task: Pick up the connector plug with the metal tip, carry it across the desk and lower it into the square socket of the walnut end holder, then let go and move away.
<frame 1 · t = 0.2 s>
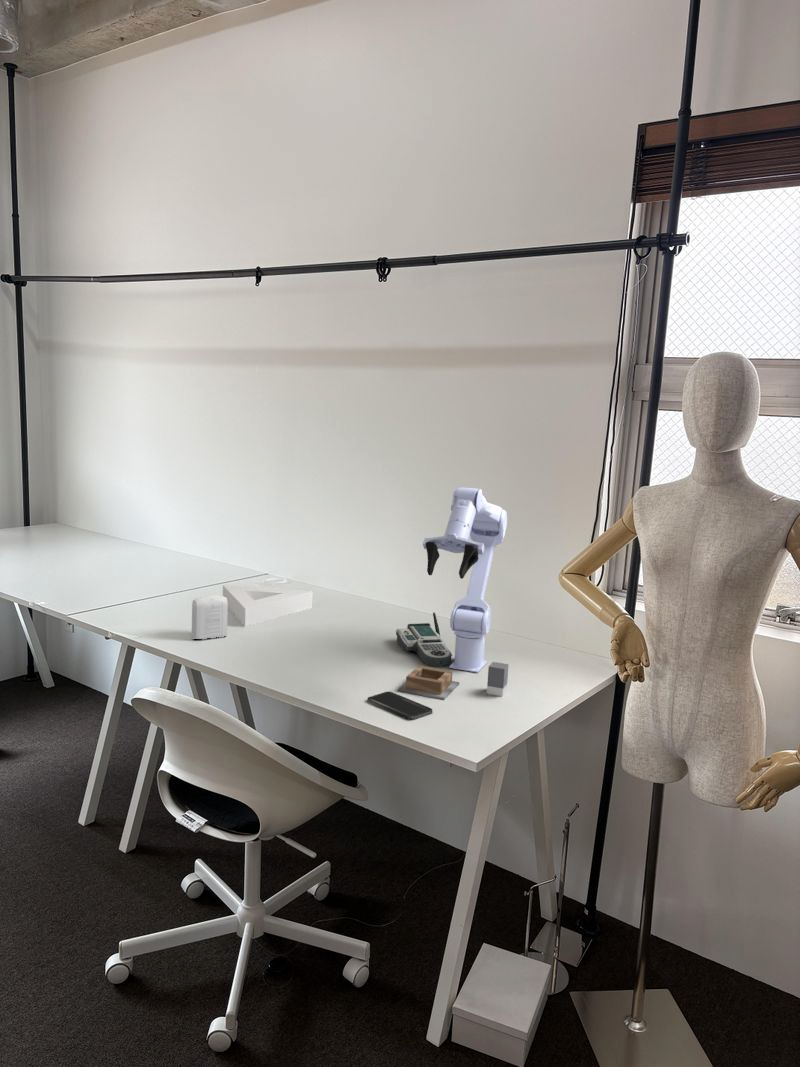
hand: (444, 574, 194), 31 cm above the table, tool tilted 45°, fingers open, 7 cm apart
connector plug: (496, 692, 208), on the table
end holder: (428, 687, 209), on the table
white upright block: (209, 638, 240), on the table
phone: (399, 709, 196), on the table
triangle block: (256, 618, 264), on the table
communication device: (425, 655, 235), on the table
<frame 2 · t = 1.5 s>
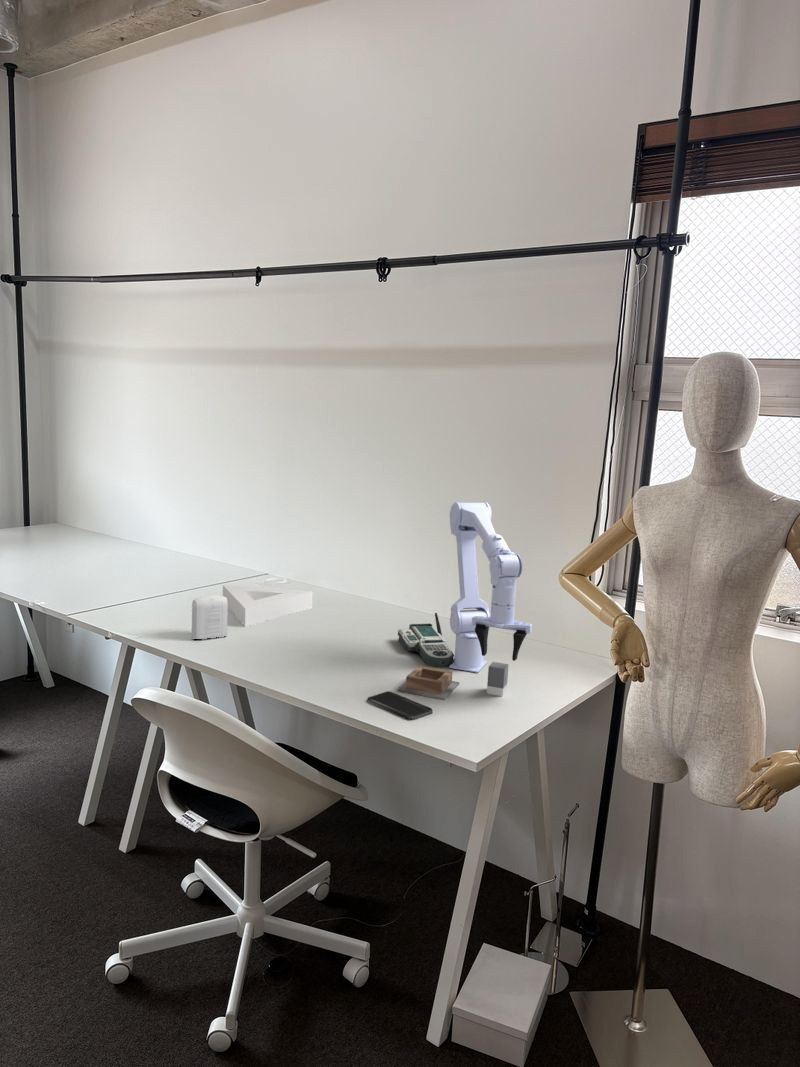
hand: (499, 656, 206), 9 cm above the table, tool pointing down, fingers open, 7 cm apart
nothing on the table moved.
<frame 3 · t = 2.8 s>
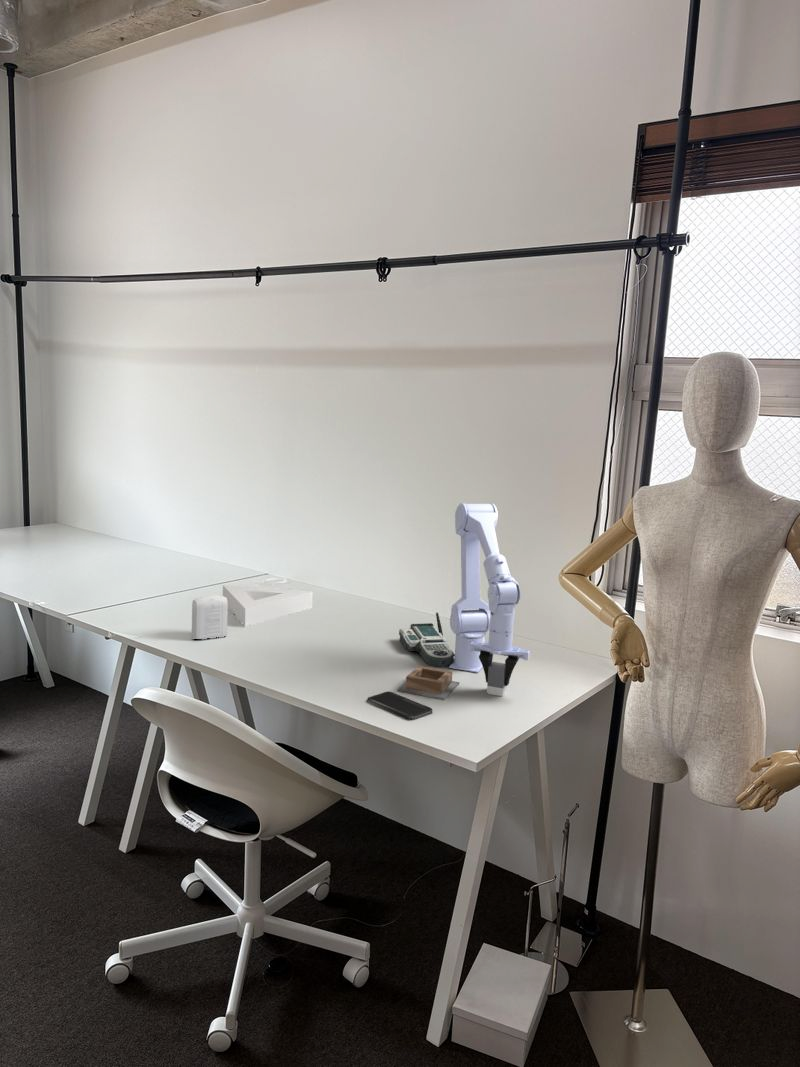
hand: (497, 682, 207), 2 cm above the table, tool pointing down, fingers closed on connector plug, 4 cm apart
connector plug: (496, 692, 208), on the table, touching gripper
everything else where it was.
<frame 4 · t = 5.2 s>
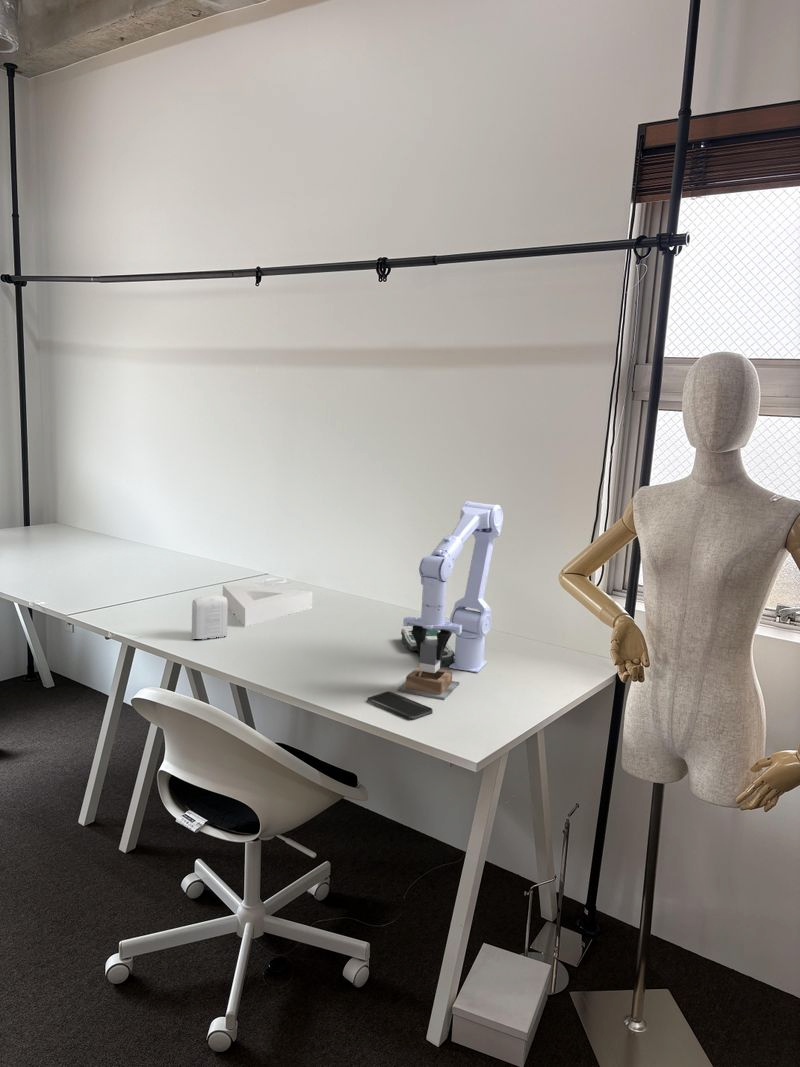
hand: (430, 657, 207), 8 cm above the table, tool pointing down, fingers closed on connector plug, 4 cm apart
connector plug: (429, 669, 208), point 5 cm above the table, touching gripper
when the fingers open (4 cm above the table, at t = 6.1 s): connector plug stays where it is, resting on end holder.
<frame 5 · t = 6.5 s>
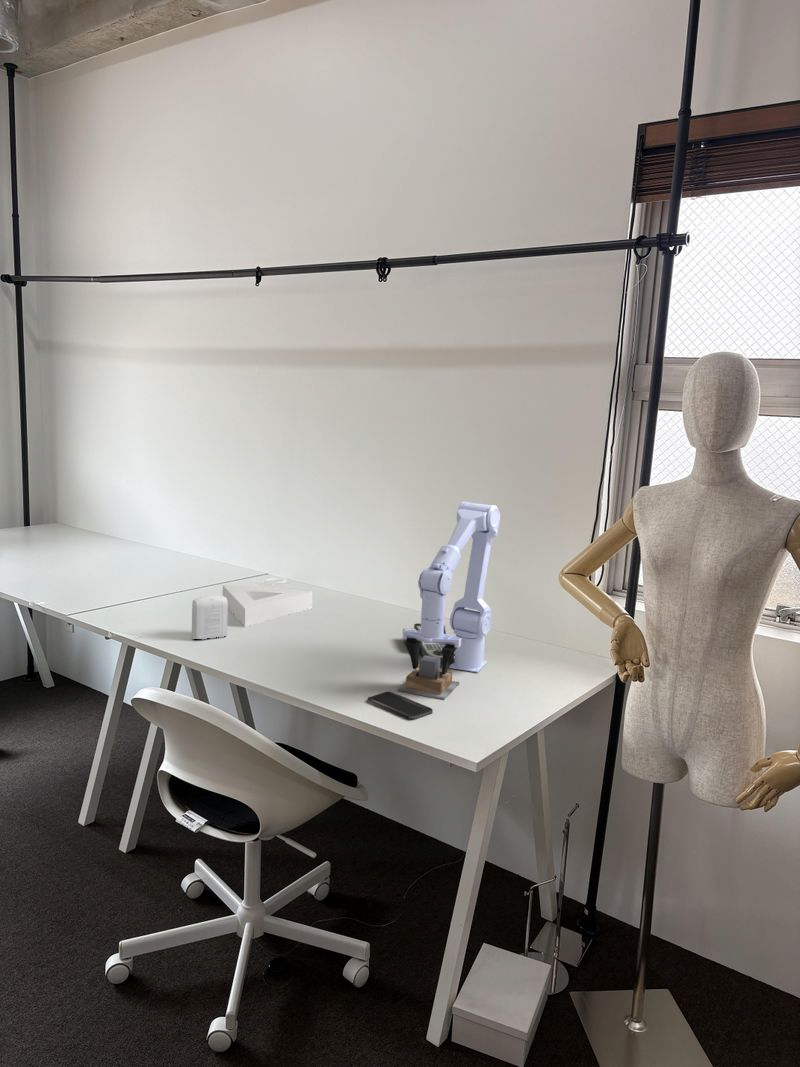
hand: (429, 670, 208), 4 cm above the table, tool pointing down, fingers open, 7 cm apart
connector plug: (428, 685, 208), resting on end holder
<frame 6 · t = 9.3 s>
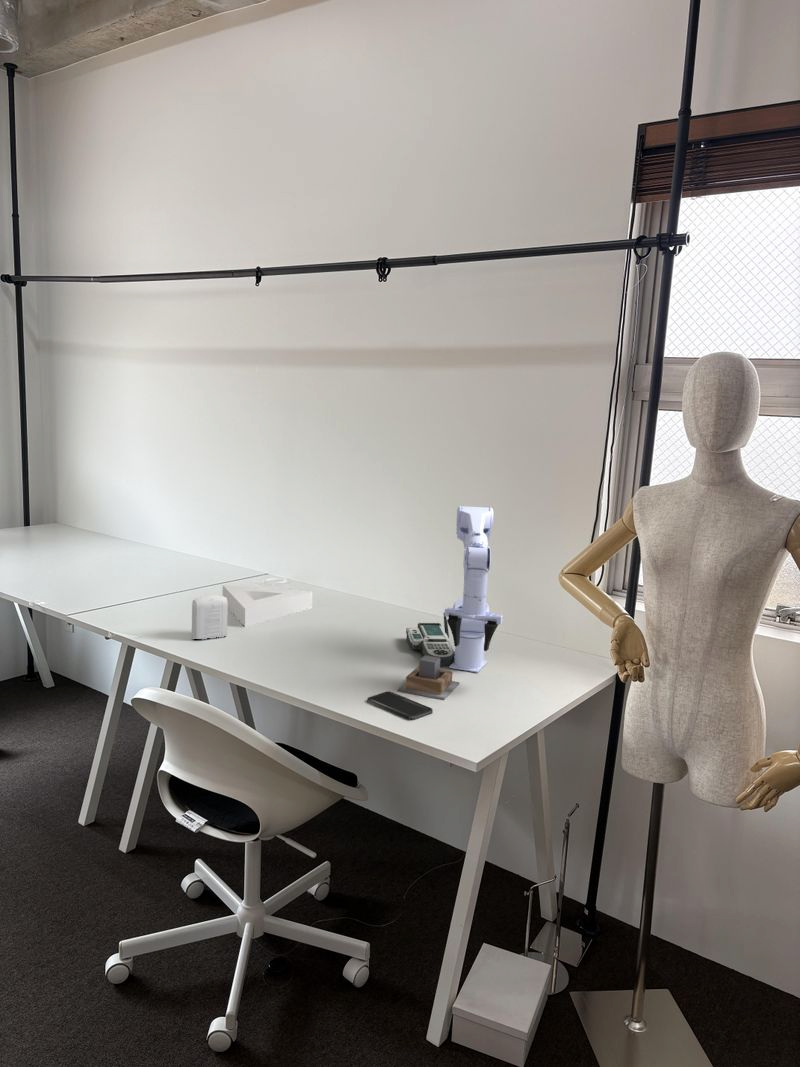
hand: (471, 647, 211), 9 cm above the table, tool pointing down, fingers open, 7 cm apart
at the end: connector plug 0.2 cm off-centre on the end holder, point 0.5 cm above the end holder's base; connector plug tilted 0°; the gripper is holding nothing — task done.
